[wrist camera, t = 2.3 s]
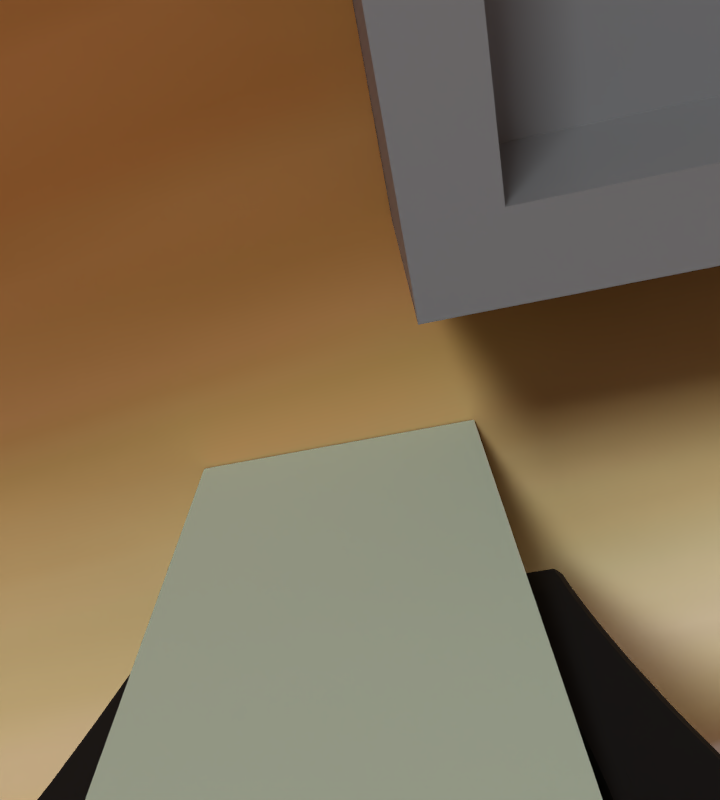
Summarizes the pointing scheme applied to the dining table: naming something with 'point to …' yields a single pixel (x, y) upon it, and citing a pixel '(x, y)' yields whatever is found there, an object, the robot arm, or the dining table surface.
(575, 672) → the robot arm
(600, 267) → the tote
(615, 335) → the dining table surface
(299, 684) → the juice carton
